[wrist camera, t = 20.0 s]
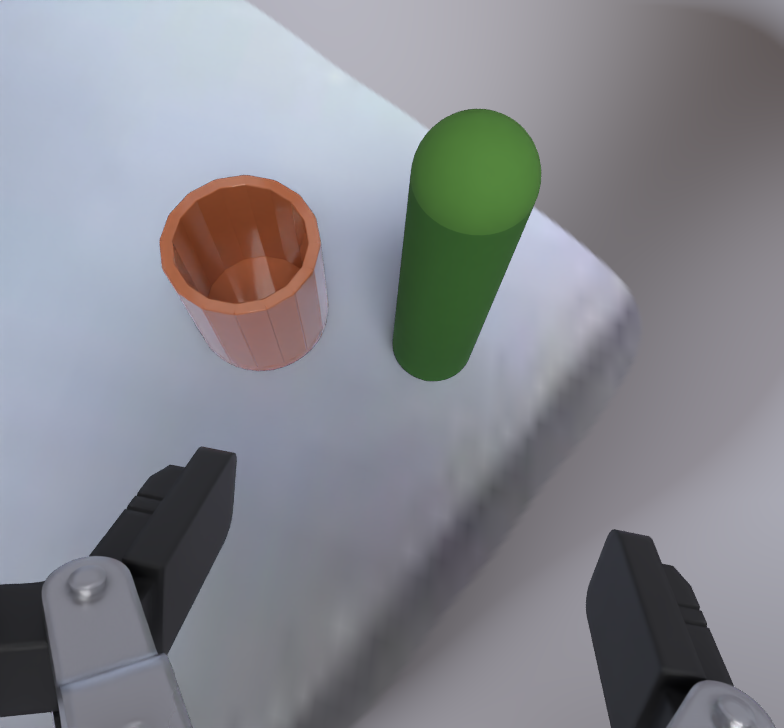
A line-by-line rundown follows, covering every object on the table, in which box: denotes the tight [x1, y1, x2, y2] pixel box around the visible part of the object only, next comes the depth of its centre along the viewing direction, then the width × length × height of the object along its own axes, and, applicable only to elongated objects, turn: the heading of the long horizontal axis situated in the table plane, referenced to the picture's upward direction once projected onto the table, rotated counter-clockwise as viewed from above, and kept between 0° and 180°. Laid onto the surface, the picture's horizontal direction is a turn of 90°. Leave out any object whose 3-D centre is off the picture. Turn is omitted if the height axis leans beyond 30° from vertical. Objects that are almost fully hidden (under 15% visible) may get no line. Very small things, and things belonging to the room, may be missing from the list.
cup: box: [160, 175, 328, 371], centre depth 29 cm, size 6×6×6 cm
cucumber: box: [393, 109, 541, 381], centre depth 25 cm, size 4×4×15 cm
